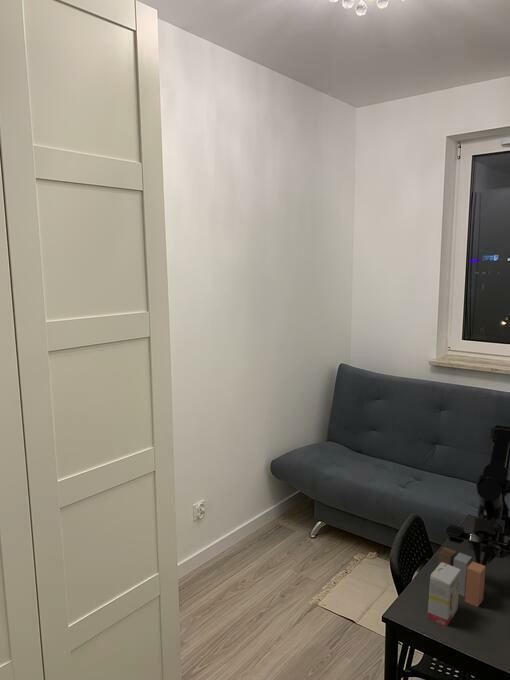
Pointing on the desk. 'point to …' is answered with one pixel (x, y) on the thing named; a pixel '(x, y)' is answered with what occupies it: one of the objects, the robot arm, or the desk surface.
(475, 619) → the desk surface
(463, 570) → the slate block
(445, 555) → the walnut block
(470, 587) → the terracotta block
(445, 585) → the ink box
